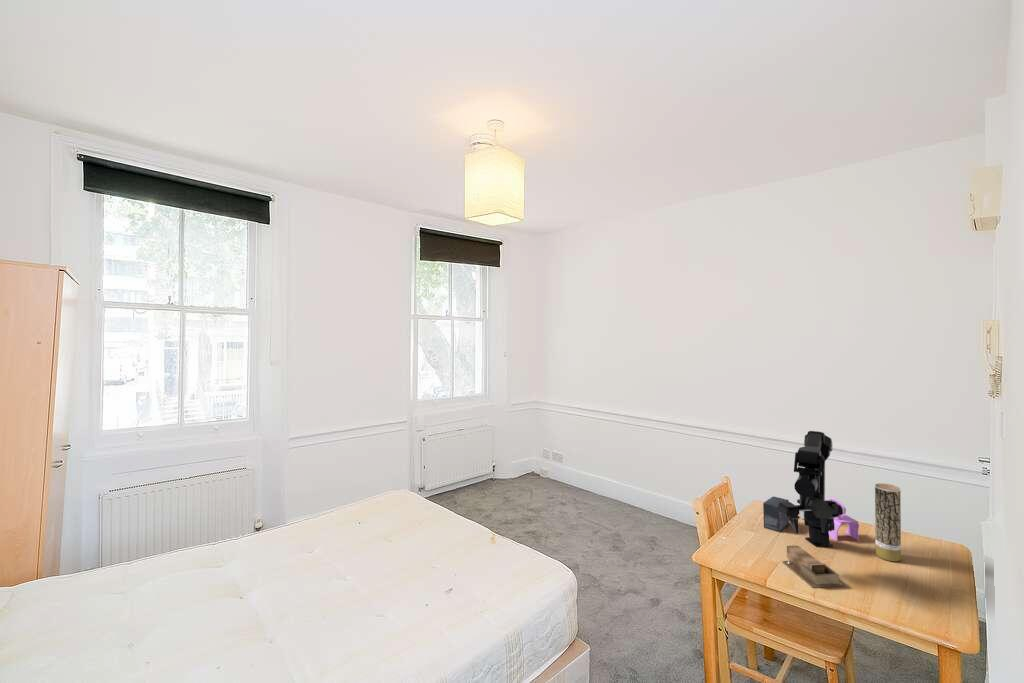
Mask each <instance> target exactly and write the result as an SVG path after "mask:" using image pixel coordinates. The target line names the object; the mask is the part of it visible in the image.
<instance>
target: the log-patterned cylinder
mask: <svg viewBox="0 0 1024 683" xmlns="http://www.w3.org/2000/svg"><path fill="white" fill-rule="evenodd" d="M901 500H902V499H901V488H900V487H899V486H896V485H893V484H889V483H875V484H874V505H875V506H874V513H875V514H874V518H875V519H874V520H875V523H874V525H875V527H874V530H875V535H874V536H875V538H874V539H875V554H876V556H877V557H879V558H880V559H882V560H884V561H888V562H893V563H894V562H896V563H897V562H899V561H900V560H902V540H901V539H902V537H901V535H902V534H901V533H902V530H901V527H902V526H901V525H902V524H901V522H902V520H901V519H902V518H901V508H902V506H901V502H902V501H901Z"/></svg>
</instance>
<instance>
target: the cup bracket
mask: <svg viewBox="0 0 1024 683" xmlns="http://www.w3.org/2000/svg"><path fill="white" fill-rule="evenodd" d="M781 563H782V564H783V565H784V566H785V567H787V568H788V569H789V570H790V571H792V572H793V573H794V574H795V575H796V576H798V577H799V578H800V579H801V580H802V581H803V582H805V583H806V584H807V585H809V587H811V588H812V589H814V588H835V587H837V588H838V587H840V588H841V587H844V585H845V584H844V583H842V582H841V581H840V574H839V573H838V572H836V571H834V569H832V568H830V567H829V566H828V565H826V564H825V563H823V564H824V574H815V573H814V572H812V571H811V570H810V569H809V568H807V567H806V566H805V565H804V564H801V568H800V567H798V566H797V565H796V564H795V563H794V562H792V561H791V560H782V562H781Z"/></svg>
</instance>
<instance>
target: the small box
mask: <svg viewBox="0 0 1024 683" xmlns="http://www.w3.org/2000/svg"><path fill="white" fill-rule="evenodd" d="M779 502H790V501H789V499H787V498H782V497H777V496H771V497H770V498H768V499H767V500H765V501H764V502H763V503H762V505H763V506H762V509H763V510H762V513H763V528H764V529H766V530H771V531H774V532H778V533H781V532H782V531H783V530H784V529H786V528H787V527H788V526H790V521H789V519H788V518H787V516H786V515H785V514H783V513H782V512H781V511H779V510H778V503H779Z"/></svg>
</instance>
